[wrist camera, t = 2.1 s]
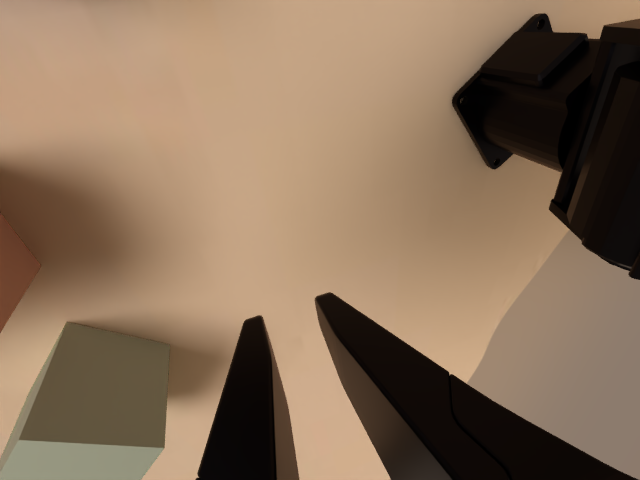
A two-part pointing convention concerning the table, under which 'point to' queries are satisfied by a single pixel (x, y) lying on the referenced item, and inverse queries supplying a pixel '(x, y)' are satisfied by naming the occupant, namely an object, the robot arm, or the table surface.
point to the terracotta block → (13, 270)
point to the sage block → (92, 410)
